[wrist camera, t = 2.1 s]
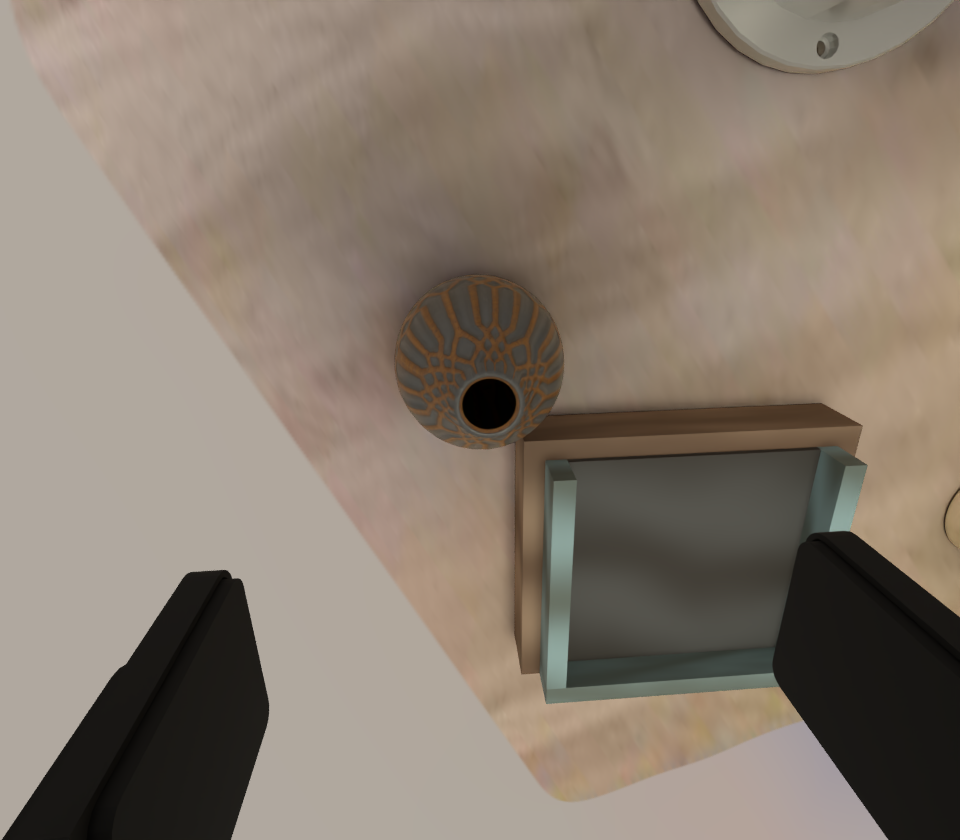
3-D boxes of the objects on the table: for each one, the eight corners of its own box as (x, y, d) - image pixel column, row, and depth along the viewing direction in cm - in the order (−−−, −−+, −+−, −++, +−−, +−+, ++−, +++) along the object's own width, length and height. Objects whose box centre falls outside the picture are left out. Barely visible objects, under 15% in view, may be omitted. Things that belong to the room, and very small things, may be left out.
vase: (529, 417, 28) (566, 508, 20) (392, 397, 27) (372, 484, 19) (560, 279, 26) (617, 319, 17) (410, 252, 25) (397, 282, 17)
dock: (515, 417, 28) (530, 461, 23) (822, 403, 29) (895, 443, 24) (514, 634, 33) (527, 705, 29) (773, 616, 34) (825, 683, 30)
